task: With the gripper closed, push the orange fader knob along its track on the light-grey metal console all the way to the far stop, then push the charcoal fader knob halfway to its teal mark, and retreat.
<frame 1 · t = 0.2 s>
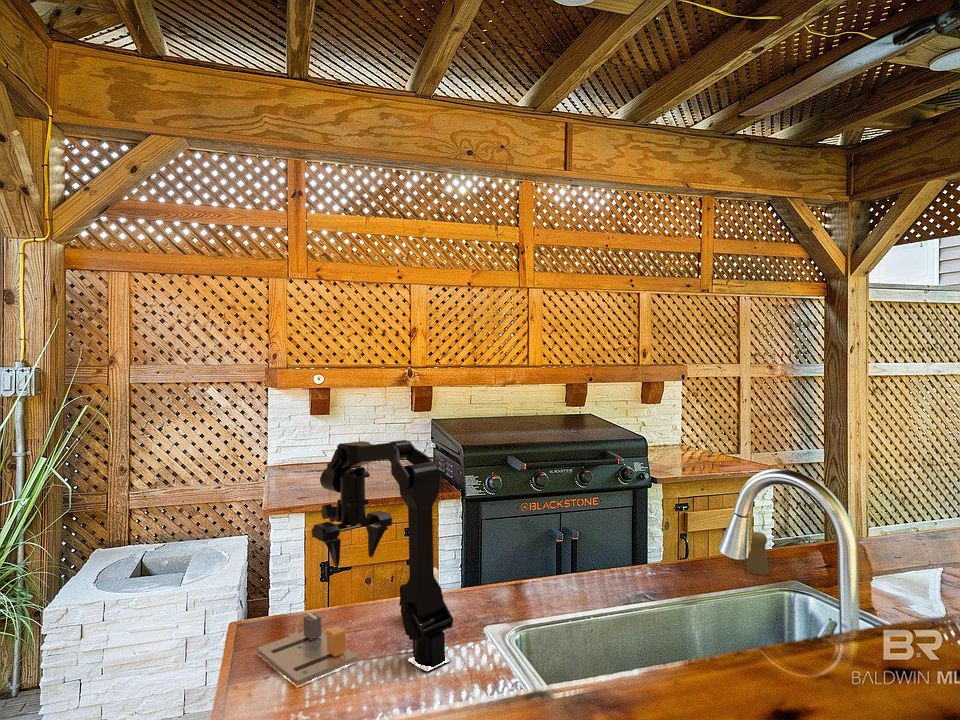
hand: (354, 561, 135), 14 cm above the countertop, tool pointing down, fingers open, 9 cm apart
orange fader: (336, 641, 117), point 4 cm above the countertop, slide at 0.0 cm
cork: (757, 572, 164), on the countertop
charcoal fader: (312, 625, 124), point 4 cm above the countertop, slide at 0.0 cm
medicine bottle: (426, 620, 136), on the countertop
console: (306, 659, 118), on the countertop
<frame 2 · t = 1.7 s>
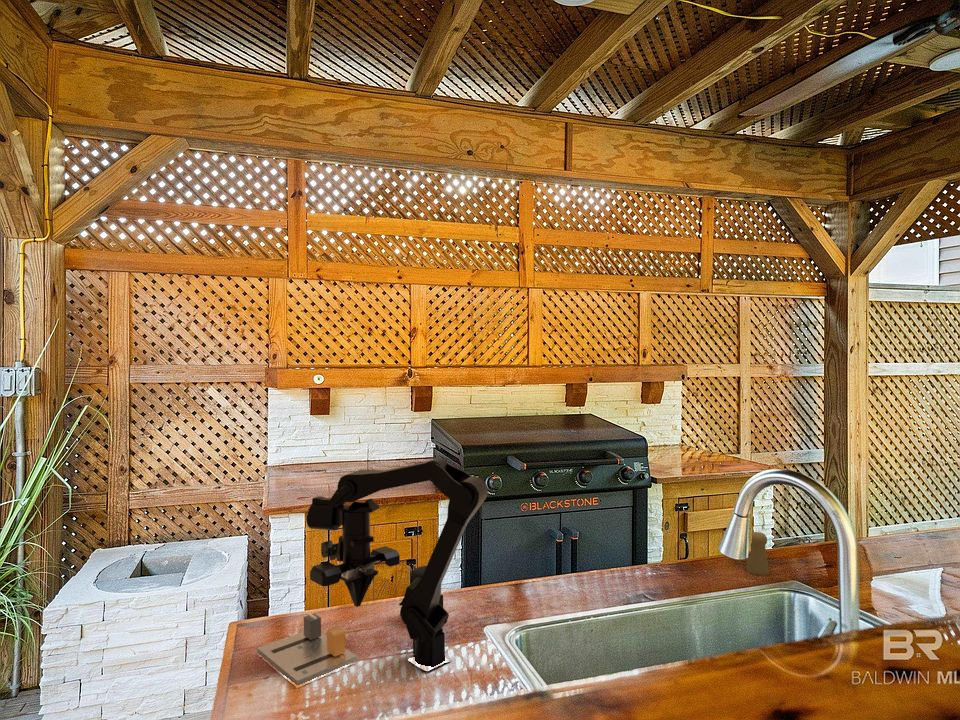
hand: (357, 605, 121), 10 cm above the countertop, tool pointing down, fingers closed
nothing on the countertop moved.
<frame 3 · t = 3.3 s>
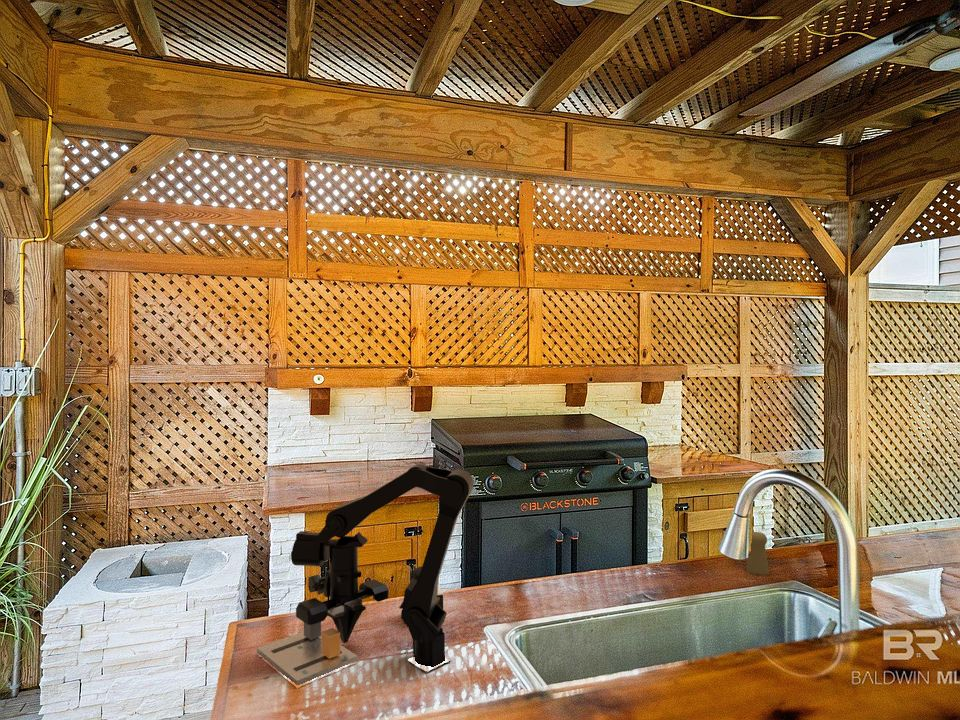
hand: (344, 642, 118), 3 cm above the countertop, tool pointing down, fingers closed
orange fader: (330, 643, 116), point 4 cm above the countertop, slide at 1.2 cm, touching gripper
everything else where it was.
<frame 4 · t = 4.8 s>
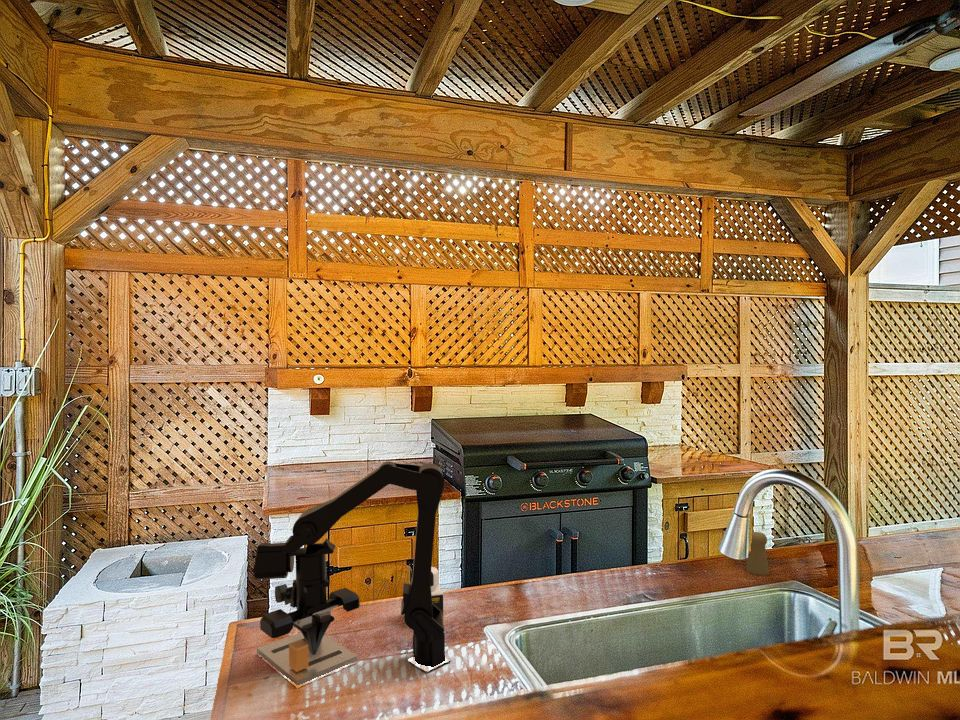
hand: (312, 654, 113), 3 cm above the countertop, tool pointing down, fingers closed
orange fader: (298, 655, 111), point 4 cm above the countertop, slide at 8.1 cm, touching gripper
everything else where it was.
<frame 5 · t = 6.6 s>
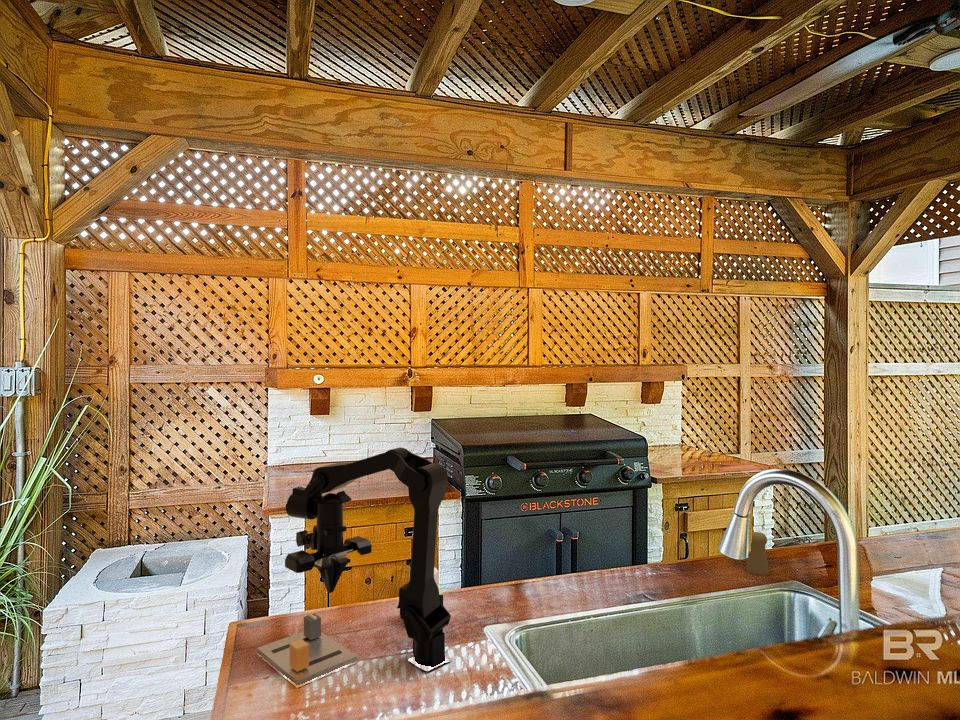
hand: (330, 592, 127), 10 cm above the countertop, tool pointing down, fingers closed
orange fader: (299, 655, 111), point 4 cm above the countertop, slide at 8.0 cm
everything else where it was.
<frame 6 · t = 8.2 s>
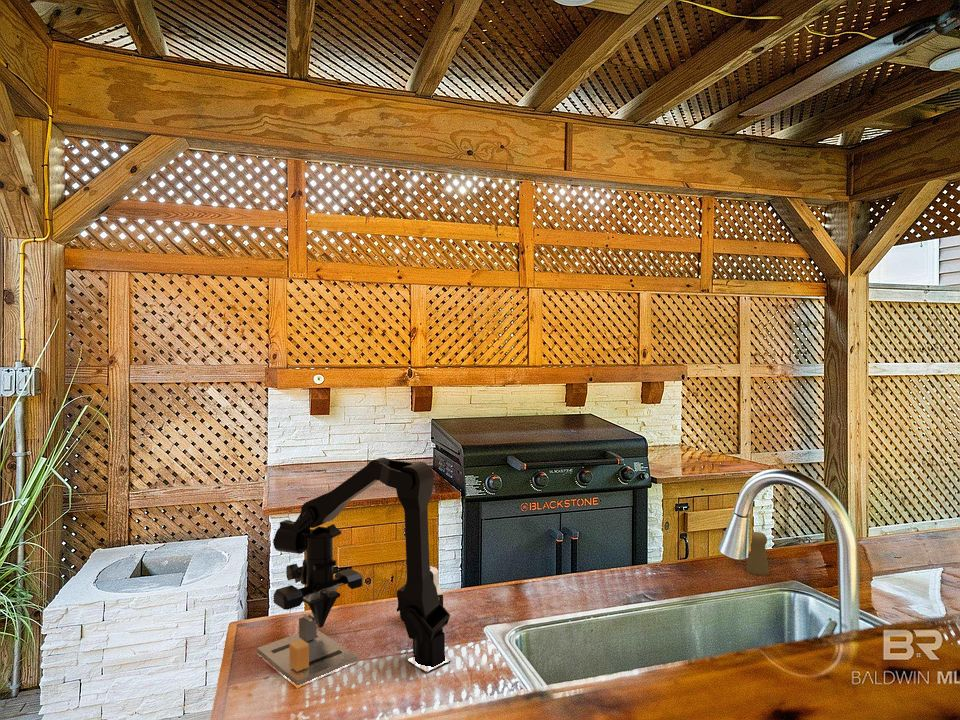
hand: (320, 627, 125), 3 cm above the countertop, tool pointing down, fingers closed
charcoal fader: (307, 627, 123), point 4 cm above the countertop, slide at 1.1 cm, touching gripper
everything else where it was.
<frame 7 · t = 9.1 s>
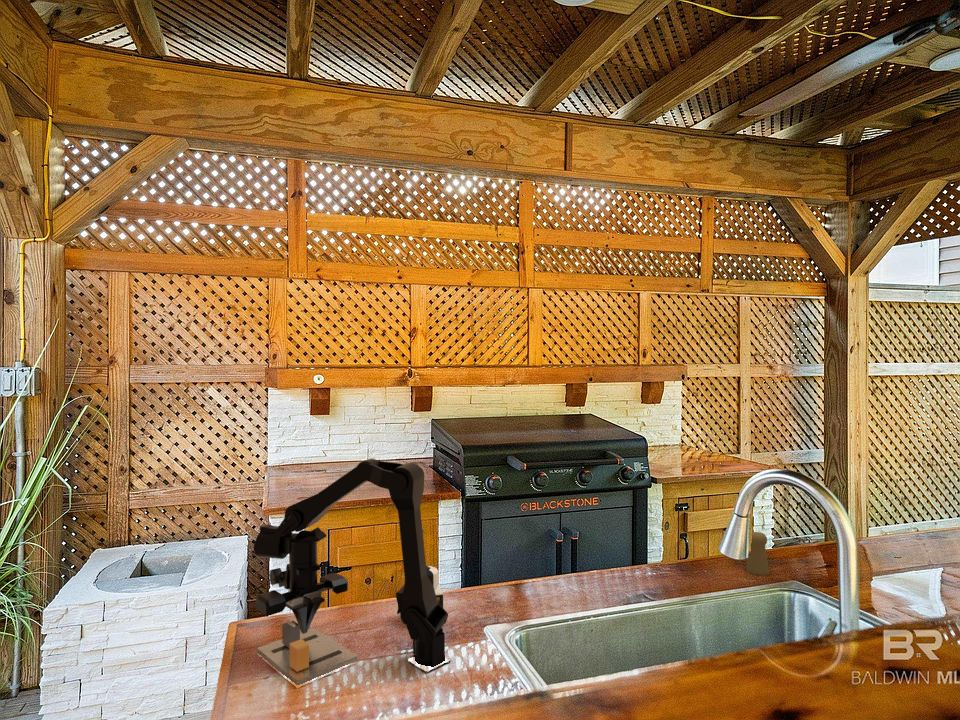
hand: (303, 632, 123), 3 cm above the countertop, tool pointing down, fingers closed
charcoal fader: (291, 633, 121), point 4 cm above the countertop, slide at 4.9 cm, touching gripper
everything else where it was.
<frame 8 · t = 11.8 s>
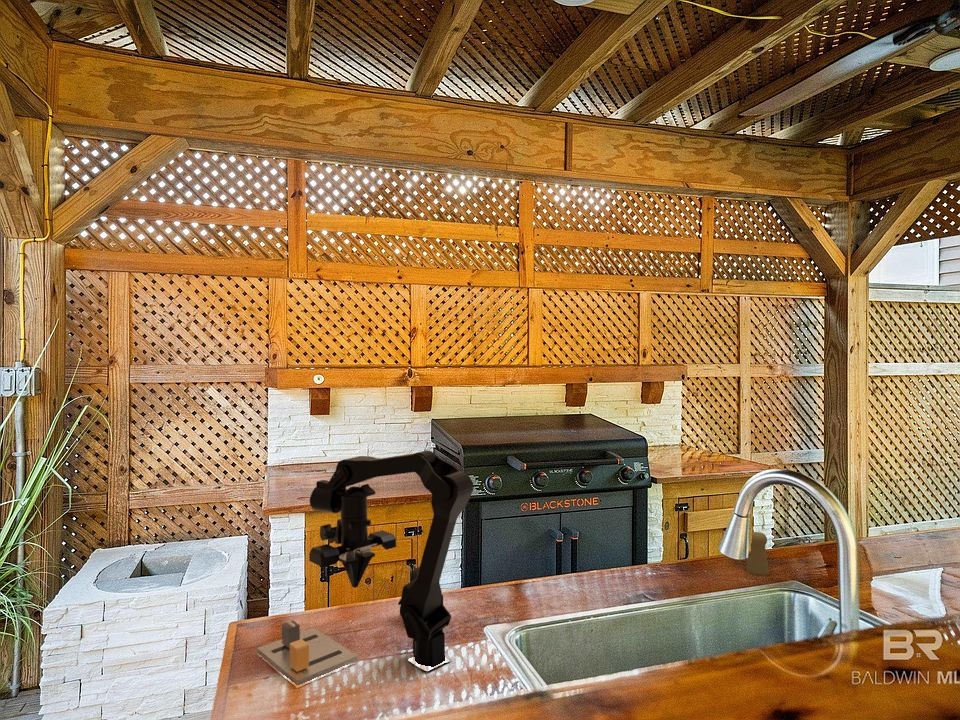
hand: (354, 586, 125), 12 cm above the countertop, tool pointing down, fingers closed
charcoal fader: (290, 633, 121), point 4 cm above the countertop, slide at 4.9 cm
everything else where it was.
at the end: orange fader slide at 8.0 cm; charcoal fader slide at 4.9 cm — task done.
